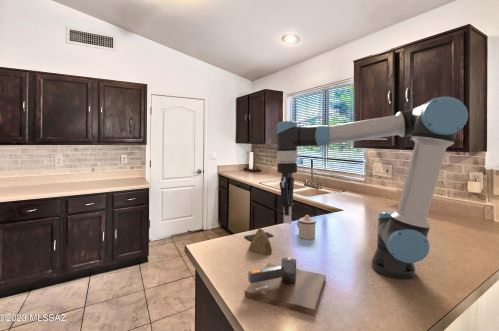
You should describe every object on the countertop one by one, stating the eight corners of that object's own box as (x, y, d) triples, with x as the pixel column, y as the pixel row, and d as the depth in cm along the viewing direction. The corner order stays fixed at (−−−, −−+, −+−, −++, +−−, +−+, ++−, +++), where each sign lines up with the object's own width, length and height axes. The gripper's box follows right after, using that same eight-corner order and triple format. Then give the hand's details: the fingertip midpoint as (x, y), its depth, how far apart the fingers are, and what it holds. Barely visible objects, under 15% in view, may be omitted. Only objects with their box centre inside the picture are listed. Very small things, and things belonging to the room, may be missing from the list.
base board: (325, 280, 94) (325, 274, 94) (314, 316, 74) (314, 308, 74) (268, 268, 103) (268, 263, 103) (244, 297, 83) (244, 290, 83)
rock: (278, 249, 117) (269, 238, 126) (269, 236, 114) (260, 226, 123) (259, 265, 115) (252, 253, 124) (249, 252, 112) (242, 241, 121)
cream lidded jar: (319, 237, 139) (319, 216, 138) (306, 240, 134) (307, 218, 133) (303, 231, 149) (303, 211, 148) (291, 234, 144) (291, 213, 143)
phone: (274, 235, 140) (250, 240, 132) (274, 237, 140) (250, 242, 132) (266, 231, 146) (243, 236, 139) (266, 233, 146) (243, 237, 139)
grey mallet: (291, 275, 93) (291, 254, 92) (298, 282, 88) (299, 260, 88) (246, 284, 86) (246, 262, 86) (252, 292, 82) (252, 268, 81)
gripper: (282, 161, 107) (282, 217, 108) (272, 163, 95) (273, 226, 96) (300, 161, 104) (300, 219, 105) (292, 163, 92) (293, 228, 93)
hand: (287, 222), depth 101 cm, fingers closed
